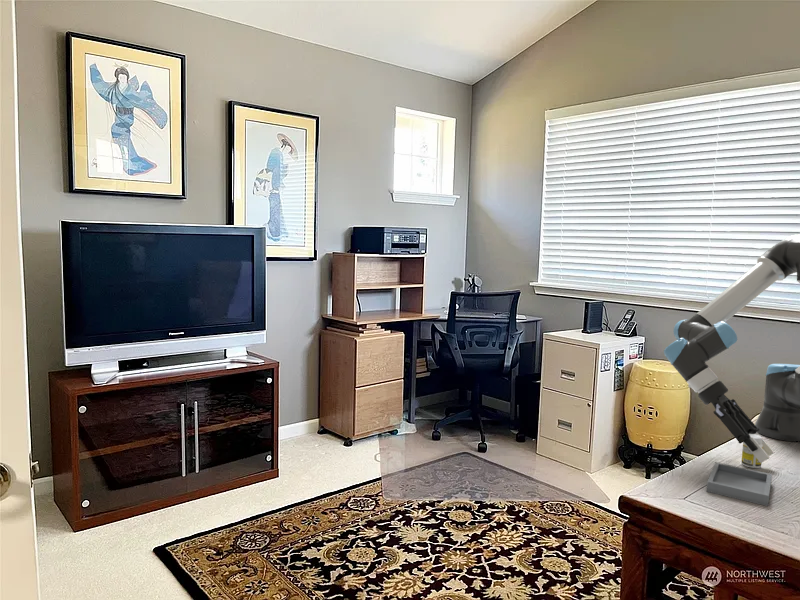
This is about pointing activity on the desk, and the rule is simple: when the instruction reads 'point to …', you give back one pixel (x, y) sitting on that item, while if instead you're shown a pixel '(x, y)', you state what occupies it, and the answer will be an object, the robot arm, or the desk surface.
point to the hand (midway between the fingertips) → (767, 457)
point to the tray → (740, 483)
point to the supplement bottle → (751, 454)
